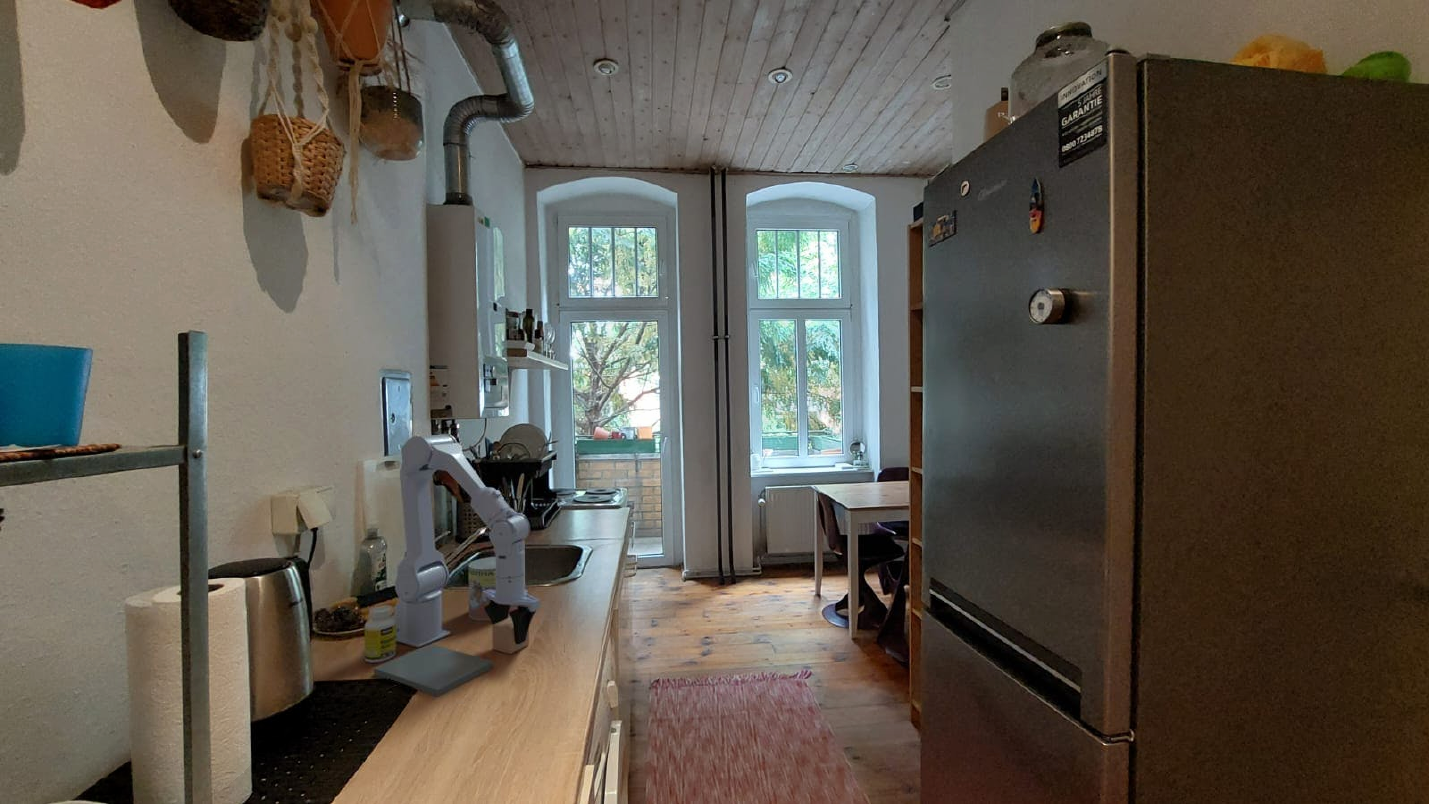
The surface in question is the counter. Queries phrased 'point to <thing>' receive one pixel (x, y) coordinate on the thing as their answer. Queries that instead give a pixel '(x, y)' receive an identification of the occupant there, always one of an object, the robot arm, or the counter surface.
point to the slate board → (434, 669)
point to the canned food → (481, 586)
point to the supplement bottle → (380, 635)
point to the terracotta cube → (506, 637)
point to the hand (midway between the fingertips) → (510, 639)
